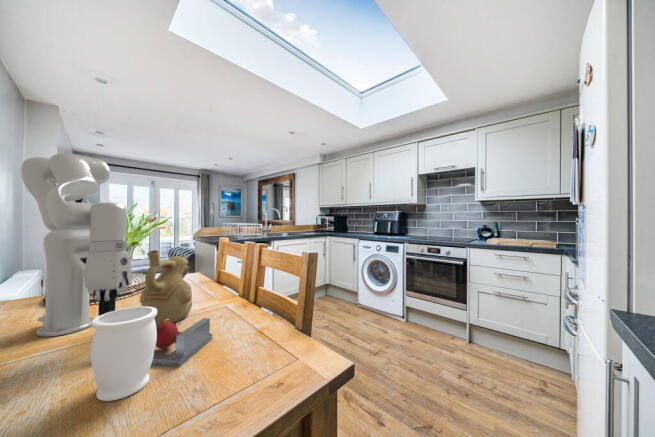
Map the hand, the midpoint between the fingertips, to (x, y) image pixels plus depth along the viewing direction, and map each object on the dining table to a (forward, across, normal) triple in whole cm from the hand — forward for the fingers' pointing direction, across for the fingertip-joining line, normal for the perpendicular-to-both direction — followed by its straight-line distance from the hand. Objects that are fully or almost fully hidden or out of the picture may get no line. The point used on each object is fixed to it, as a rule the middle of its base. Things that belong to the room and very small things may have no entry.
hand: (107, 314), depth 66 cm
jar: (+10, -20, +14) cm, 26 cm away
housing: (+9, -15, 0) cm, 17 cm away
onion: (+10, -17, 0) cm, 19 cm away
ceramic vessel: (+9, -2, -19) cm, 21 cm away
